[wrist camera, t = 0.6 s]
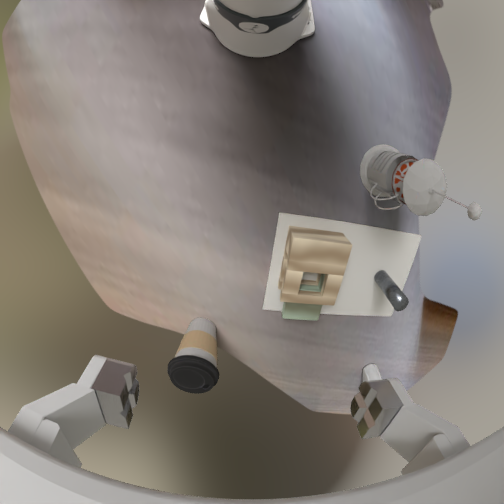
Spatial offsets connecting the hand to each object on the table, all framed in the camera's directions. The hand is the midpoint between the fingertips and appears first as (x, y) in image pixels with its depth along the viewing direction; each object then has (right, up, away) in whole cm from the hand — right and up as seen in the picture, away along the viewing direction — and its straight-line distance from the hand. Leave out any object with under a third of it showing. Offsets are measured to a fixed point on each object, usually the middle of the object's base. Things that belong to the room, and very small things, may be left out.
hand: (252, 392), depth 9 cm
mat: (+18, +1, +44) cm, 47 cm away
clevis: (+10, +2, +43) cm, 44 cm away
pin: (+26, 0, +44) cm, 51 cm away
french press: (+23, +19, +36) cm, 46 cm away
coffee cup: (-11, -11, +49) cm, 52 cm away
